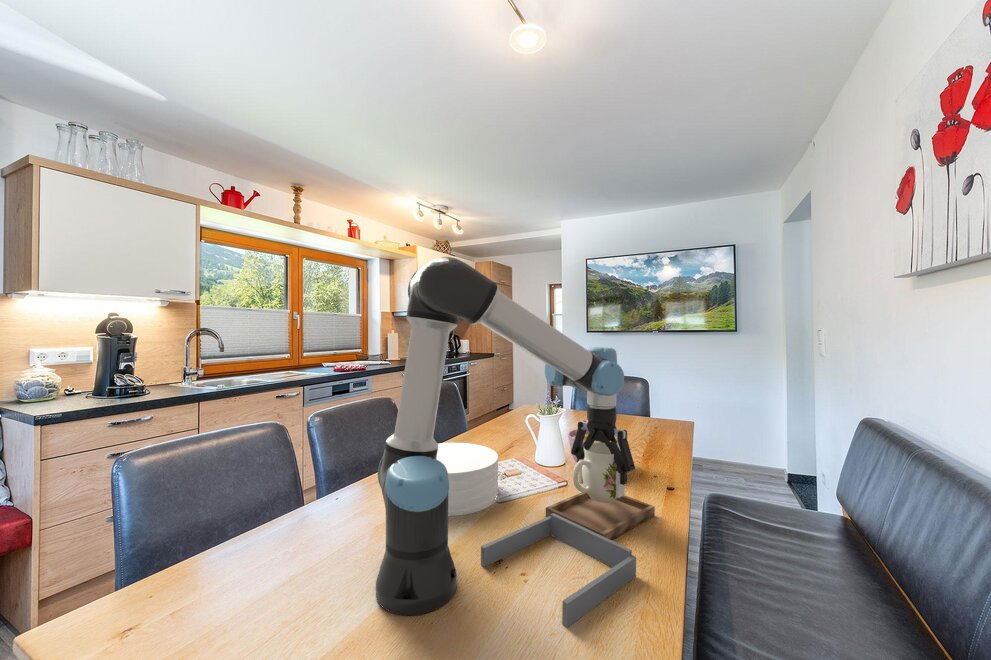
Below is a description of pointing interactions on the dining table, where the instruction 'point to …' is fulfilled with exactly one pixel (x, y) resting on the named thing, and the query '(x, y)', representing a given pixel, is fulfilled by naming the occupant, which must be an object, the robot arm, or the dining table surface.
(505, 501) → the dining table surface
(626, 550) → the bay
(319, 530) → the dining table surface
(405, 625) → the dining table surface
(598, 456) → the pitcher
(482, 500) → the plate stack
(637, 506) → the tray
